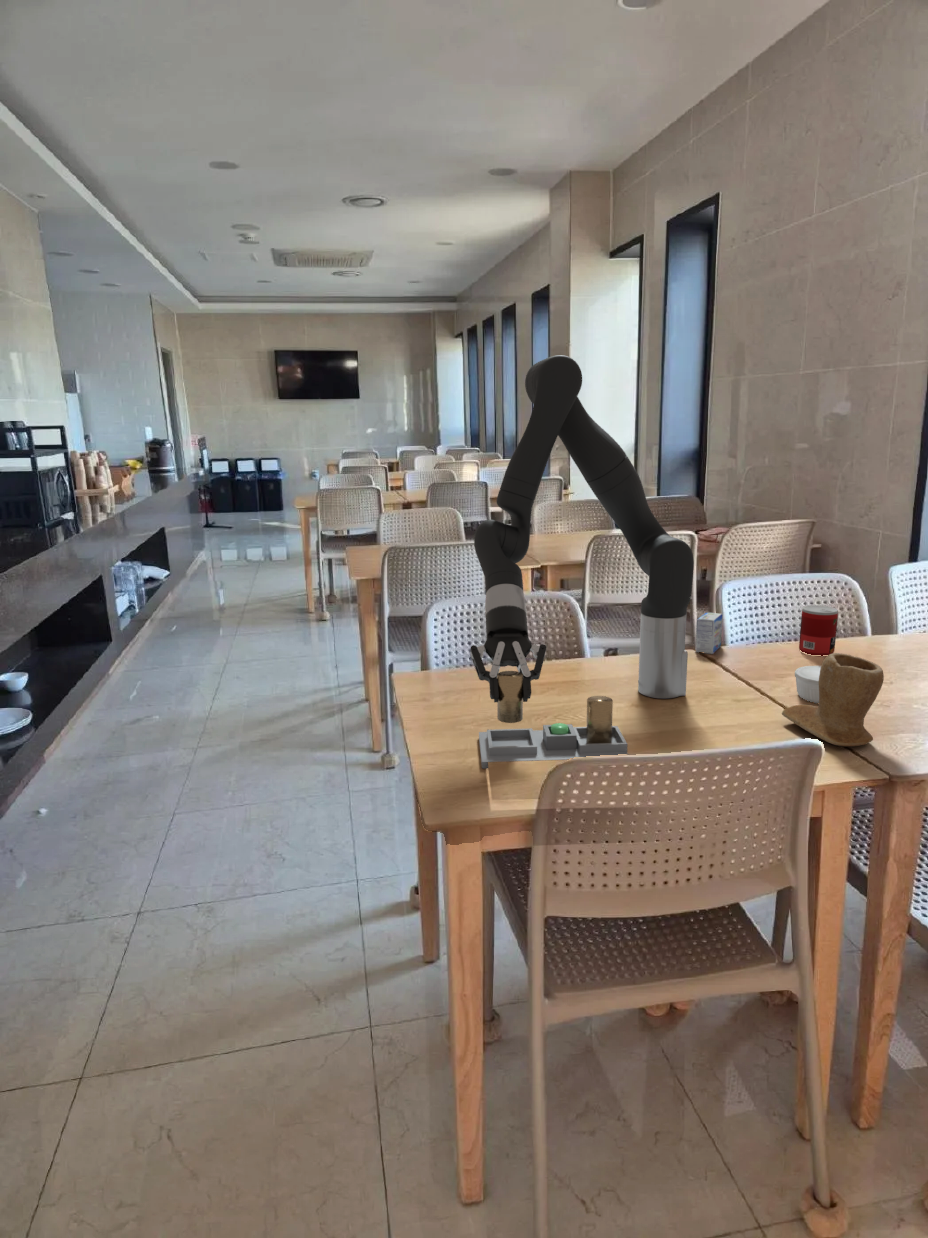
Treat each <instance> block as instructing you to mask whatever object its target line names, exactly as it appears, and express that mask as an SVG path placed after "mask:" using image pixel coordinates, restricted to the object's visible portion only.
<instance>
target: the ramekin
mask: <svg viewBox="0 0 928 1238" xmlns="http://www.w3.org/2000/svg"><path fill="white" fill-rule="evenodd" d="M820 669H821V665H805V666H804V665H803V666H800V667H798V668H796V670H795V671H794V678H795V684H796V685H795V686H796V692H797V694H798V696H799V697H800V698H801V699H802V698H803V700H804V699H805V700H804V701H806V700H807V702H809V701H810V703H812V702H814V703H813V704H817V703H819V675H820Z"/></svg>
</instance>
